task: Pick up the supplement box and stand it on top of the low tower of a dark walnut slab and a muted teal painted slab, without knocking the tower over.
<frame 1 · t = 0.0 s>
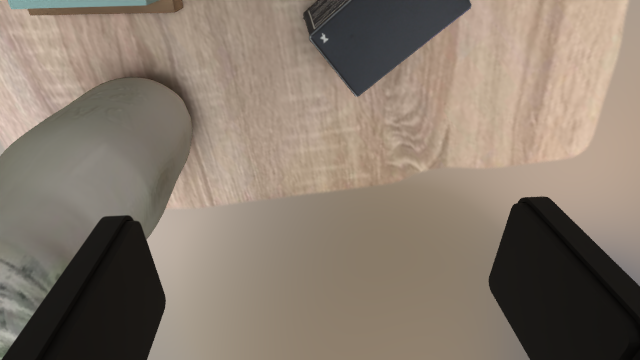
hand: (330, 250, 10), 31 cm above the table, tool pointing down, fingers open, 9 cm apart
small box: (365, 3, 36), on the table
glass bottle: (155, 111, 40), on the table
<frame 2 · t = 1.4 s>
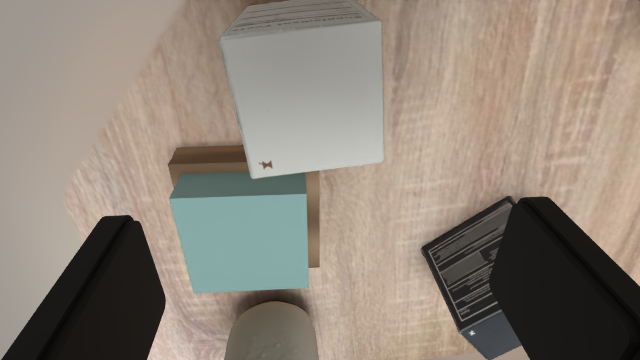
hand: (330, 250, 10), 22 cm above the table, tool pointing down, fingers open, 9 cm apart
supplement box: (302, 48, 29), on the table
tower top: (249, 220, 33), point 3 cm above the table, touching tower base
tower base: (255, 198, 36), on the table, touching tower top
small box: (475, 238, 40), on the table
glass bottle: (275, 312, 44), on the table
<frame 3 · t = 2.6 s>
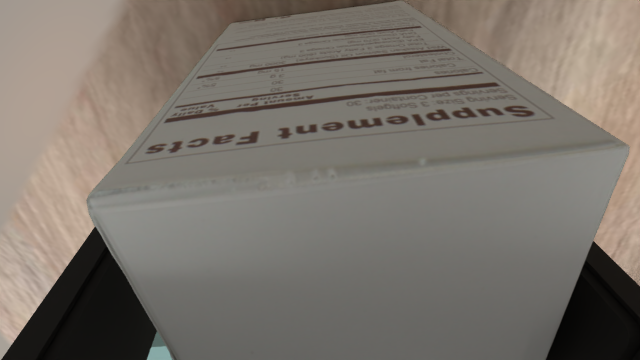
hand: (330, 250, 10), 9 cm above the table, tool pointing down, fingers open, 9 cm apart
supplement box: (324, 90, 17), on the table
tower top: (242, 339, 22), point 3 cm above the table, touching tower base
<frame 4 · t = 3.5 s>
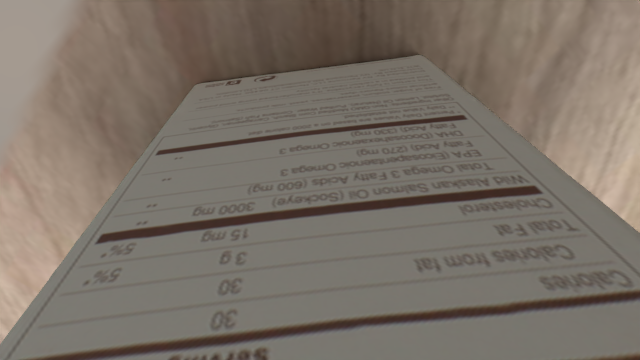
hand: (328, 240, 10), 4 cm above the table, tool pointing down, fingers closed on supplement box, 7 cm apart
supplement box: (319, 161, 14), on the table, touching gripper
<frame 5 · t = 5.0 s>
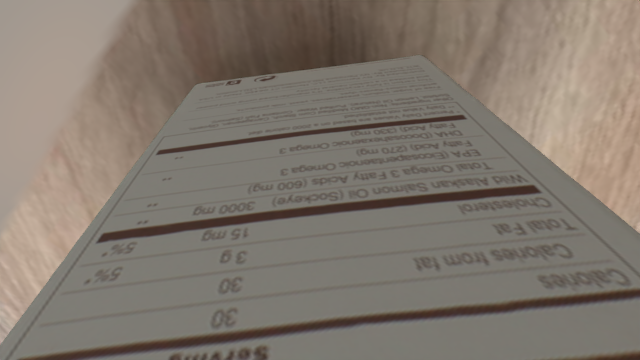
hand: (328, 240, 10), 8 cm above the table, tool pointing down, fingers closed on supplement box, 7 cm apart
supplement box: (319, 161, 14), point 3 cm above the table, touching gripper
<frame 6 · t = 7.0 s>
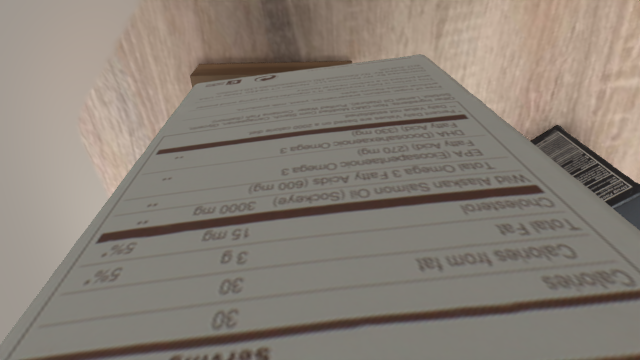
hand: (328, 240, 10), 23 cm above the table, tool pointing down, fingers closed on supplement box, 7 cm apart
supplement box: (320, 161, 14), point 18 cm above the table, touching gripper
tower base: (280, 128, 33), on the table, touching tower top
small box: (517, 176, 37), on the table
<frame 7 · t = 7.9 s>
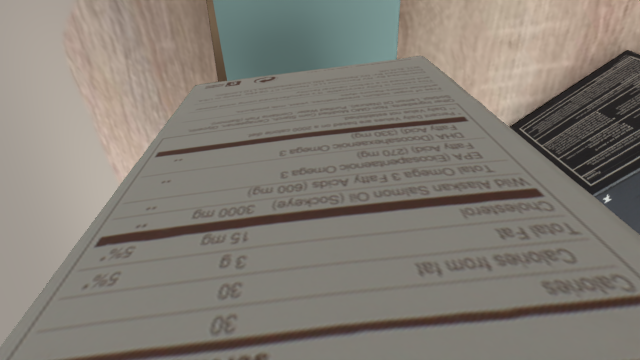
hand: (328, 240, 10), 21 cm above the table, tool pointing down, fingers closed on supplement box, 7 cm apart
supplement box: (320, 162, 14), point 17 cm above the table, touching gripper
tower top: (310, 66, 25), point 3 cm above the table, touching tower base
tower base: (304, 53, 28), on the table, touching tower top
small box: (575, 117, 32), on the table
when the fingers open (12 cm above the table, at t = 10.0 s): supplement box drops 2 cm, resting on tower top.
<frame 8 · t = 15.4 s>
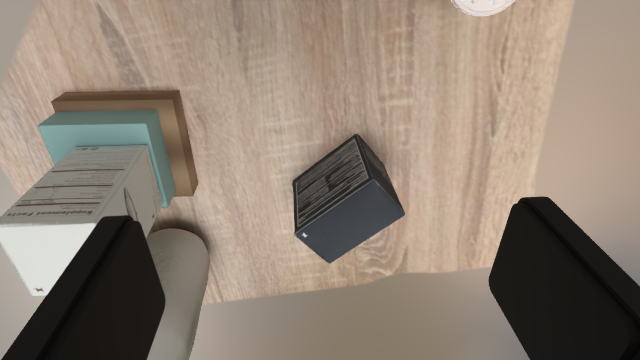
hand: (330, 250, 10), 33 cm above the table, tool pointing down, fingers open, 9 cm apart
supplement box: (122, 174, 39), point 6 cm above the table, touching tower top
tower top: (120, 153, 41), point 3 cm above the table, touching supplement box, tower base
tower base: (139, 138, 44), on the table, touching tower top
small box: (338, 173, 48), on the table
glass bottle: (180, 241, 52), on the table
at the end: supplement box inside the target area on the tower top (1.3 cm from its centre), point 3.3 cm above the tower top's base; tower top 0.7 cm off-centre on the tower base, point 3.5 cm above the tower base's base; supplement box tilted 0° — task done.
